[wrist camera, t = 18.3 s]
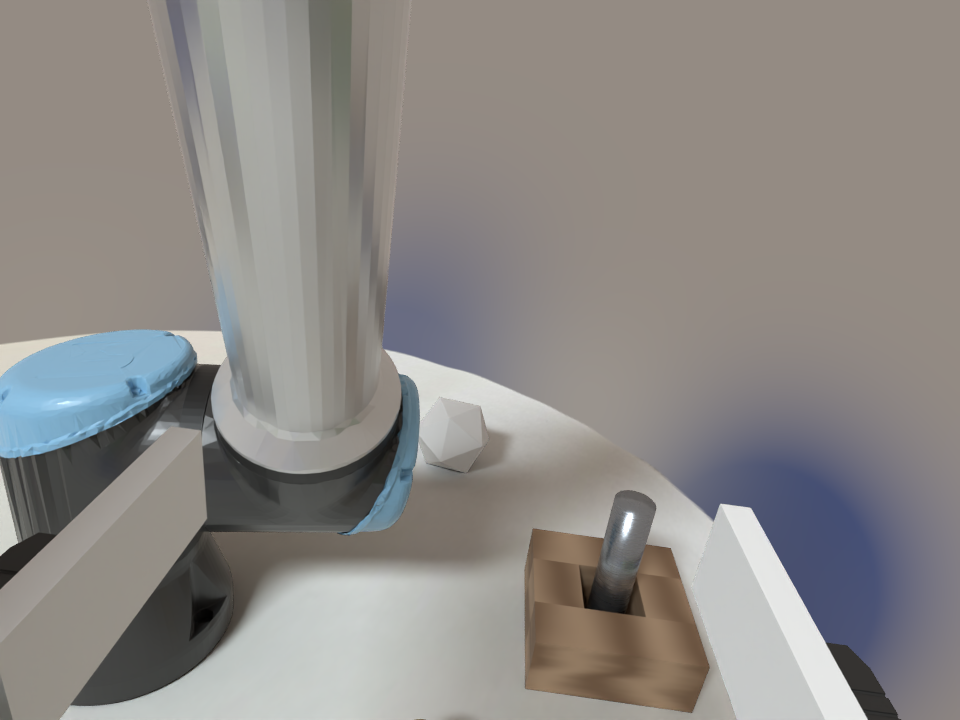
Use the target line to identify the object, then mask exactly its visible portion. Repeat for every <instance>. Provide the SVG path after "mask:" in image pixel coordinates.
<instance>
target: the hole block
mask: <svg viewBox="0 0 960 720" xmlns="http://www.w3.org/2000/svg"><path fill="white" fill-rule="evenodd" d="M603 541H604V539H603V538H596V537H589V536H582V535H575V534H568V533H561V532H554V531H547V530H540V529H533V530H532V535H531V540H530V545H529V550H528V555H527V560H526V565H525V689H531V690H538V691H545V692H552V693H559V694H565V695H572V696H579V697H586V698H593V699H600V700H607V701H614V702H621V703H628V704H635V705H642V706H649V707H656V708H662V709H669V710H676V711H683V712H690V713H692V711H693V709H694V706H695V703H696V701H697V698H698V696H699V693H700V691H701V688H702V685H703V683H704V680H705V678H706V675H707V673H708V670H709V664H708V661H707V658H706V654H705V651H704V648H703V645H702V642H701V639H700V636H699V633H698V630H697V627H696V624H695V621H694V618H693V615H692V612H691V609H690V606H689V602H688V599H687V596H686V593H685V590H684V587H683V584H682V581H681V578H680V575H679V572H678V569H677V566H676V563H675V560H674V557H673V554H672V551H671V548H666V547H659V546H652V545H645V549H644V552H643V555H642V559H641V562H640V566H639V569H638V572H637V576H636V579H635V583H634V586H633V589H632V593H631V596H630V600H629V603H628V606H627V610H626V613H625V614H620V613H613V612H606V611H599V610H592V609H586V607H587V603H588V599H589V595H590V591H591V588H592V584H593V580H594V576H595V572H596V568H597V564H598V561H599V557H600V553H601V549H602V545H603Z"/></svg>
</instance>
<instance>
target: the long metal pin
mask: <svg viewBox="0 0 960 720" xmlns="http://www.w3.org/2000/svg"><path fill="white" fill-rule="evenodd" d="M655 511H656V505H655V503H654V502H653V501H652V500H651V499H650V498H649V497H648V496H646V495H644V494H642V493H639V492H636V491H630V490H625V491H620V492H618V493H617V494H616V495H615V499H614V503H613V506H612V510H611V514H610V518H609V522H608V526H607V530H606V533H605V537H604V541H603V545H602V549H601V553H600V557H599V561H598V564H597V568H596V572H595V576H594V580H593V584H592V588H591V591H590V595H589V599H588V603H587V607H586V609H592V610H599V611H606V612H613V613H620V614H625V613H626V610H627V606H628V603H629V600H630V596H631V593H632V589H633V586H634V583H635V579H636V576H637V572H638V569H639V566H640V562H641V559H642V555H643V552H644V549H645V545H646V542H647V538H648V535H649V532H650V528H651V525H652V521H653V518H654V515H655Z"/></svg>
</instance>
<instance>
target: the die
mask: <svg viewBox="0 0 960 720" xmlns="http://www.w3.org/2000/svg"><path fill="white" fill-rule="evenodd" d="M488 441H489V436H488V432H487V429H486V425H485V421H484V418H483V414H482V410H481V407H480V406H478V405H473V404H469V403H465V402H460V401H456V400H451V399H447V398H443V397H439V398H438V400H437V401H436V402H435V403H434V405H433V406H432V407H431V409H430V410H429V411H428V413H427V414H426V415H425V417H424V418H423V419H422V421H421V422H420V428H419V444H420V447H421V450H422V453H423V456H424V459H425V461H426V463H428V464H432V465H436V466H440V467H444V468H448V469H452V470H456V471H460V472H464V473H467V472H468V470H469V469H470V467H471V466H472V464H473V463H474V461H475V460H476V459H477V457H478V456H479V454H480V453H481V451H482V450H483V448H484V447H485V446H486V444H487V443H488Z"/></svg>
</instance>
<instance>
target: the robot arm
mask: <svg viewBox="0 0 960 720" xmlns="http://www.w3.org/2000/svg"><path fill="white" fill-rule="evenodd" d="M411 2H412V0H147V4H148V8H149V13H150V17H151V21H152V26H153V30H154V35H155V39H156V43H157V48H158V52H159V56H160V61H161V65H162V70H163V74H164V79H165V83H166V88H167V92H168V96H169V101H170V105H171V109H172V114H173V118H174V123H175V127H176V131H177V136H178V140H179V144H180V149H181V154H182V158H183V162H184V167H185V171H186V175H187V180H188V184H189V189H190V193H191V198H192V202H193V206H194V211H195V215H196V219H197V224H198V228H199V233H200V237H201V242H202V246H203V250H204V255H205V259H206V264H207V268H208V272H209V276H210V281H211V285H212V290H213V294H214V299H215V303H216V307H217V312H218V316H219V321H220V325H221V330H222V334H223V338H224V343H225V347H226V352H227V357H226V358H225V360H224V361H223V363H222V365H209V364H197V353H196V352H195V351H194V350H193V347H192V345H191V344H190V342H189V341H187V339H185V338H184V337H182V336H179V335H177V336H175V335H174V334H172V333H170V332H167V331H160V330H124V331H113V332H107V333H100V334H95V335H90V336H85V337H81V338H77V339H73V340H69V341H67V342H64V343H60V344H57V345H54V346H51V347H48V348H46V349H43V350H41V351H39V352H36V353H34V354H32V355H30V356H28V357H26V358H24V359H23V360H21V361H20V362H18V363H17V364H15V365H14V366H12V367H11V368H10V369H8V370H7V371H6V372H5V373H4V374H3V375H2V376H1V377H0V468H1V472H2V476H3V480H4V485H5V489H6V493H7V497H8V501H9V506H10V510H11V514H12V518H13V522H14V527H15V531H16V535H17V539H18V544H16V545H14V546H12V547H10V548H9V549H8V550H7V551H6V552H5V553H3V554H2V555H1V556H0V720H60V718H61V717H62V715H63V714H64V713H65V711H66V710H67V709H68V707H69V706H70V705H76V706H93V705H104V704H110V703H116V702H120V701H125V700H128V699H132V698H135V697H138V696H141V695H144V694H146V693H149V692H152V691H154V690H156V689H158V688H160V687H162V686H164V685H166V684H168V683H170V682H172V681H174V680H175V679H177V678H179V677H180V676H182V675H183V674H185V673H186V672H188V671H189V670H190V669H192V668H193V667H194V666H195V665H197V664H198V663H199V662H200V661H201V660H202V659H203V658H205V657H206V656H207V654H208V653H209V652H210V651H211V650H212V649H213V648H214V647H215V646H216V644H217V643H218V642H219V640H220V639H221V637H222V636H223V634H224V632H225V631H226V629H227V626H228V624H229V622H230V619H231V616H232V611H233V582H232V576H231V572H230V568H229V566H228V564H227V562H226V560H225V558H224V556H223V555H222V553H221V551H220V549H219V547H218V546H217V544H216V542H215V540H214V538H213V537H212V535H211V533H210V532H337V533H338V534H341V535H351V534H356V533H358V532H365V531H381V530H385V529H387V528H389V527H391V526H392V525H393V524H394V523H395V522H396V521H397V520H398V519H399V517H400V516H401V514H402V512H403V510H404V508H405V506H406V503H407V500H408V497H409V494H410V490H411V486H412V480H413V473H412V470H413V468H414V466H415V463H416V458H417V451H418V442H419V428H420V409H419V396H418V390H417V387H416V385H415V383H414V382H413V380H411V379H410V378H409V377H408V376H406V375H400V374H399V373H398V372H397V369H396V367H395V365H394V363H393V361H392V359H391V358H390V356H389V355H388V354H387V353H386V351H385V350H384V349H383V348H382V339H383V328H384V317H385V305H386V293H387V282H388V270H389V259H390V247H391V235H392V224H393V212H394V201H395V188H396V177H397V165H398V154H399V142H400V130H401V119H402V107H403V96H404V84H405V73H406V61H407V50H408V38H409V25H410V15H411ZM691 588H692V591H693V594H694V597H695V600H696V603H697V606H698V609H699V611H700V614H701V617H702V620H703V623H704V626H705V629H706V632H707V635H708V638H709V640H710V643H711V646H712V649H713V652H714V655H715V658H716V661H717V664H718V667H719V669H720V672H721V675H722V678H723V681H724V684H725V687H726V690H727V693H728V696H729V698H730V701H731V704H732V707H733V710H734V713H735V716H736V719H737V720H901V719H898V716H897V715H898V714H897V712H896V710H895V709H894V707H893V705H892V704H891V702H890V700H889V699H888V698H886V697H885V692H884V691H883V689H882V687H881V686H880V684H879V682H878V681H877V679H876V677H875V676H874V674H873V673H872V671H871V669H870V668H869V667H868V666H867V665H866V664H865V663H864V662H863V661H862V660H861V659H860V658H859V657H858V656H857V655H856V654H855V653H854V652H853V651H852V650H851V649H850V648H849V647H848V646H846V645H839V644H831V643H825V641H824V640H823V638H822V636H821V634H820V632H819V631H818V629H817V627H816V625H815V623H814V622H813V620H812V618H811V616H810V614H809V613H808V611H807V609H806V607H805V605H804V604H803V602H802V600H801V598H800V596H799V594H798V593H797V591H796V589H795V588H794V586H793V584H792V582H791V580H790V578H789V576H788V575H787V573H786V571H785V569H784V567H783V565H782V564H781V562H780V560H779V558H778V557H777V555H776V553H775V551H774V549H773V547H772V546H771V544H770V542H769V540H768V538H767V537H766V535H765V533H764V531H763V529H762V528H761V526H760V524H759V522H758V520H757V519H756V517H755V515H754V513H753V511H752V509H751V508H747V507H739V506H733V505H726V504H720V506H719V509H718V512H717V515H716V518H715V520H714V523H713V526H712V529H711V532H710V535H709V538H708V541H707V543H706V546H705V549H704V552H703V555H702V558H701V561H700V564H699V566H698V569H697V572H696V575H695V578H694V581H693V584H692V587H691Z"/></svg>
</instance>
